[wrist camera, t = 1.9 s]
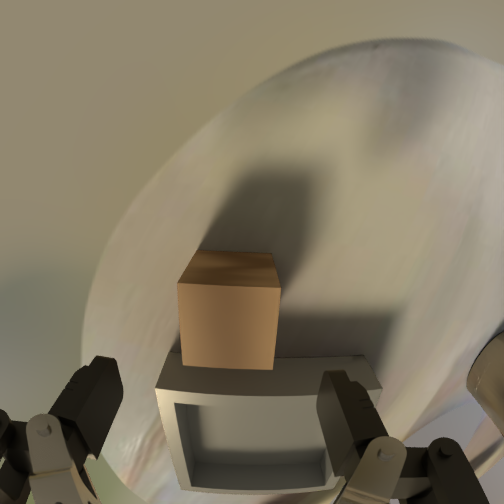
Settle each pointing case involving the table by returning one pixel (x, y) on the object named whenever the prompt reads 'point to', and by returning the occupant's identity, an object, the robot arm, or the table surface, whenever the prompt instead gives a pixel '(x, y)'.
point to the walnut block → (229, 310)
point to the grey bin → (251, 424)
